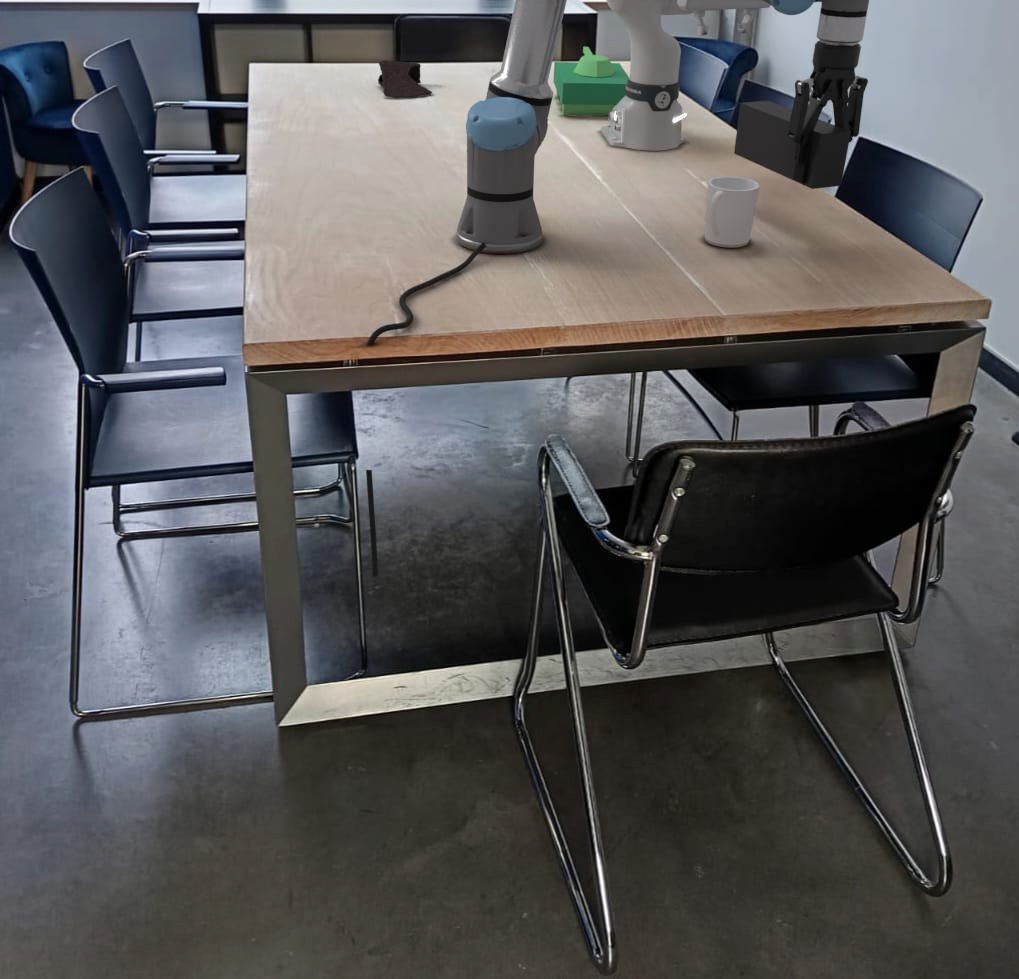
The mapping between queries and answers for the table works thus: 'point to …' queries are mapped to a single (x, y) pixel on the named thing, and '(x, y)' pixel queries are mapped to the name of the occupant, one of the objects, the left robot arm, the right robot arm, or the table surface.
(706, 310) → the table surface
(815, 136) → the box
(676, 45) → the right robot arm
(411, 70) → the axe head
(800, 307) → the table surface
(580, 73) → the toy tank
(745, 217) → the mug
